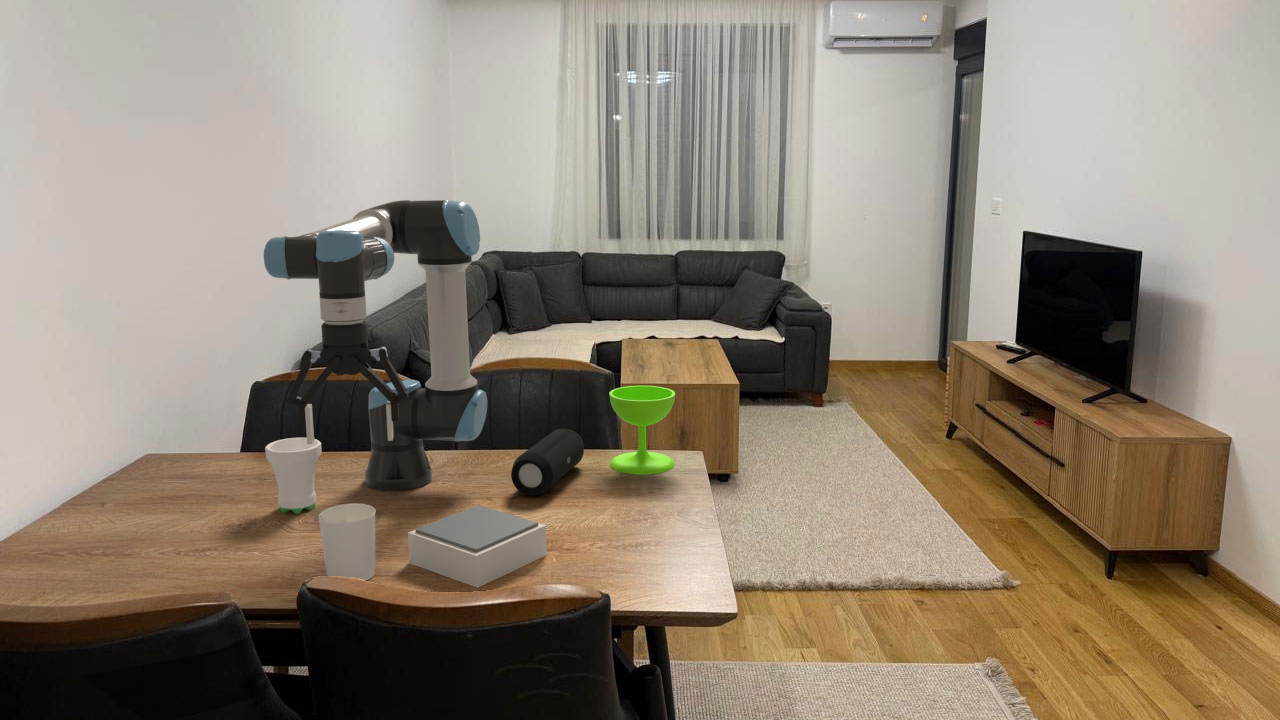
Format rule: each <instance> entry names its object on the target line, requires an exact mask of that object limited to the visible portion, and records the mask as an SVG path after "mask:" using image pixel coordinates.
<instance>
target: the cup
mask: <svg viewBox="0 0 1280 720" xmlns="http://www.w3.org/2000/svg"><path fill="white" fill-rule="evenodd" d="M264 450H265V457H266V460H267V461H268V462H269V464H270V466H271V467H272V470H273V473H274V476H275V479H276V483H277V489H278V497H277V502H278V503H277V504H278V506H279V509H280V511H281V512H282V513H289V511H292V513H294V514H297V515H299V514H300V513H302V511H303V510H304V509H305V510H307V511H312V510H314V509H315V506H316V503H317V493H316V491H315V478H316V469H317V465H318V461H319V458H320V456H322V442H321V441H320V440H318V439H317V438H316V439H315V438H314V441H313V443H312V444H307V437H291V438H284V439H283V438H282V439H279V440H275V441H273V442H270V443H268V444H267V445H266V446H265V447H264Z"/></svg>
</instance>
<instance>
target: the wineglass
mask: <svg viewBox="0 0 1280 720" xmlns="http://www.w3.org/2000/svg"><path fill="white" fill-rule="evenodd" d="M608 395H609V401H610V404H611V407H612V409H613V411H614V412H615V414H616V415H617V416H618V417H619V418H620V419H621V420H622V421H623V422H626V423H627V424H629V425H633V426H637V428H638V430H637V431H638V432H637V433H638V449H637V451H630V452H623V453H621V454H619V455H617V456H614V457H613V458H612V459H611V461H610V462H609V466H610V468H611V469H612V470H614V471H616V472H620V473H622V474H628V475H636V476H637V475H640V476H642V475H643V476H644V475H647V476H648V475H657V474H661V473H665V472H668V471H670V470H672V469H674V467H675V466H676V465H675V461H674V460H673V459H672V458H671V457H670V456H668V455H666V454H663V453H660V452H656V451H655V452H654V451H648V450H647V427H648V426H651V425H655V424H658V423H659V422H661V421H662V420H663V419H665V417H667V416H668V414H669V412H671V411H672V408H673V406H674V403H675V397H676V391H674V390H673V389H671V388H667V387H662V386H656V385H629V386H628V385H627V386H621V387H617V388H614V389H612V390H610V391H609V394H608Z"/></svg>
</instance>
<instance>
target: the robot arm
mask: <svg viewBox="0 0 1280 720" xmlns="http://www.w3.org/2000/svg"><path fill="white" fill-rule="evenodd" d="M480 242H481V231H480V226H479V220H478V218H477V215H476V212H475V211H474V209H473V208H472V206H471V205H469V204H468V203H467V202H466V201H460V200H450V199H446V200H445V199H442V200H439V199H438V200H435V199H434V200H429V199H428V200H408V199H405V200H404V199H403V200H396V201H390V202H387V203H383V204H379V205H375V206H372V207H370V208H366V209H364V210H360V211H359V212H357V213H356V214H355V215H354V216H353V217H352V218H351V219H349V220H346V221H342V222H339V223H336V224H333V225H331V226H328V227H324V228H321V229H318V230H314V231H312V232H309V233H305V234H301V235H299V236H285V235H284V236H279V237H276V236H275V237H272V238H270V239H269V240H268V241H267V242H266V244H265V245H264V250H263V264H264V268H265V270H266V271H267V273H268V274H269V276H271V277H272V278H276V279H286V280H292V279H295V280H296V279H297V280H299V279H301V280H302V279H303V280H318V288H319V289H318V290H319V309H320V319H321V321H323V323H322V324H321V339H322V349H321V350H314V349H312V348H307V349H306V350H305V351H304V352H303V354H302V355H303V358H302V365H301V368H300V369H299V372H298V374H297V375H296V378H295V381H294V382H293V385H292V387H291V389H290V392H289V394H288V396H287V399H286V403H287V404H288V405H294V406H296V407H297V408H298V417H299V418H298V419H299V422H298V423H299V424H300V425H301V426H302V425H303V426H304V425H305V430H306V431H305V432H306V438H307V444H312V443H313V441H314V439H315V431H314V430H315V429H314V418H313V417H314V416H313V404H312V403H308V402H309V401H310V400H311V399H312V397H313V396H314V395H315V394H316V392H317V391H318V390H319V389H320V387H321V386H323V384H324V383H325V381H326V380H327V379H328V377H330V375H331V374H332V373H333V374H335V375H336V376H344V375H348V376H349V375H350V376H356V375H358V374H360V373H361V374H362V376H364V378H366V379H367V380H368V381H369V382H370V383H371V384H372V385H373V386H374V387H373V388H372V389H371V390H370V392H369V393H368V407H367V410H368V418H369V430H370V431H369V432H370V449H371V451H370V454H369V459H368V462H367V467H366V471H364V472H365V474H364V478H365V479H364V482H365V485H366V486H367V487H368V488H370V489H374V490H378V491H405V490H412V489H416V488H419V487H422V486H425V485H427V484H429V483H430V482H431V481H432V479H433V473H432V472H433V471H432V466H431V465H430V462H429V459H428V457H427V454H426V452H425V449H424V448H425V447H424V441H423V440H432V441H434V440H435V441H452V442H453V441H454V442H467V441H468V442H469V441H474V440H476V439H477V438H478V437H479V436H480V434H481V432H482V431H483V427H484V425H485V422H486V417H487V413H488V412H487V411H488V397H487V393H486V391H484V390H482V389H479V388H478V380H477V379H476V378H475V377H474V376H473V375H472V374H471V367H470V366H471V365H470V348H469V347H470V345H469V344H470V343H469V342H470V341H469V326H468V323H469V322H468V321H469V320H468V303H467V302H468V300H467V285H466V284H467V283H466V279H467V278H466V270H467V268H468V267H469V266H470V265H471V264H472V262H473V260H472V257H473V256H474V255H477V254H478V252H479V250H480ZM395 254H402V255H403V254H404V255H405V254H406V255H407V254H408V255H417V264H418V266H420V267H421V268H422V269H423V270H424V272H425V284H426V285H425V286H426V302H427V303H426V304H427V319H428V321H427V322H428V336H429V354H430V355H429V356H430V368H431V369H430V372H431V373H430V375H431V376H430V377H429V379H428V380H427V381H426V382H425V383H424V385H425V387H423V388H422V385H421V383H420V381H419V380H416V379H405V380H402V379H401V378H400V375H399V374H398V372H397V371H396V369H395V367H394V365H393V363H392V362H391V361H390V359H389V355H388V349H387V347H386V346H383V345H382V346H381V347H380V348H374V349H373V348H372V349H370V347H369V339H368V323H367V322H366V321H365V319H366V318H367V303H366V302H367V301H366V297H367V296H366V289H365V288H366V282H367V281H371V280H378V279H380V278H382V277H383V276H385V275H386V274H389V273H390V271H391V269H393V266H394V263H395ZM371 357H373V358H374V359H375V360H376V361H377V362H380V364H381V367H382V368H383V370H384V372H385V374H386V375H387V376H388V379H389V380H390V382H387V383H386V382H385V381H384V380H383V379H382V378H381V377H380V376H379V375H378V374H377V373H376V371H374V370H373V368H372V367H371V365H370V364H368V361H369V360H370V359H371ZM318 359H320V360H321V361H322V362H323V363H324V364H325V365H326V367H325V368H324V369H323V371H322V372H321V373H320V374H319V376H318V377H317V378H316V379H315V381H314V382H313V383H312V384H311V386H309V388H308V389H307V391H305V393H304V394H303V395H302V397H301V396H299V393H300V391H301V389H302V387H303V385H304V382H305V380H306V378H307V376H308V374H309V371H310V369H311V368H312V365H313V364H314V363H316V362H317V360H318Z"/></svg>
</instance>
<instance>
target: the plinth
mask: <svg viewBox="0 0 1280 720" xmlns="http://www.w3.org/2000/svg"><path fill="white" fill-rule="evenodd" d="M407 543H408V544H407V545H408V564H411V565H413V566H416V567H420V568H422V569H425V570H428V571H430V572H433V573H436V574H439V575H440V576H444V577H447V578H449V579H453V580H455V581H457V582H461V583H463V584H466V585H468V586H471V587H474V588H476V589H478V588H481V587H483V586H484V585H487V584H488V583H491V582H493V581H495V580H497V579H499V578H501V577H504V576H506V575H508V574H510V573H512V572H514V571H516V570H518V568H519V569H521V568H523V567H524V566H525V567H526V566H527V565H529V564H532V563H533V562H535V561H538V560H540V559H541V558H544V557H546V556H547V551H548V550H547V525H546V524H543V523H539V522H538V521H537V522H536V521H534V520H530V519H527V518H523V517H520V516H518V515H517V516H516V515H513V514H510V513H507V512H503V511H501V510H500V511H499V510H497V509H493V508H491V507H487V506H482V505H480V504H478V505H475V506H472V507H470V508H468V509H467V508H466V509H465V510H462V511H458V512H456V513H455V514H451V515H449V516H446V517H444V518H441V519H439V520H436V521H433V522H430V523H428V524H425V525H423V526H420V527H417V528H415V529H413V530H411V531H408V532H407Z"/></svg>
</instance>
